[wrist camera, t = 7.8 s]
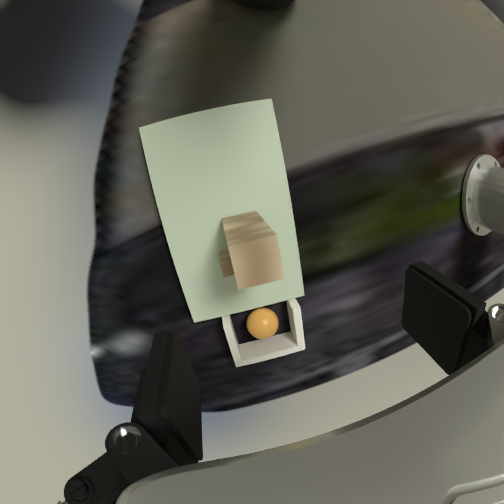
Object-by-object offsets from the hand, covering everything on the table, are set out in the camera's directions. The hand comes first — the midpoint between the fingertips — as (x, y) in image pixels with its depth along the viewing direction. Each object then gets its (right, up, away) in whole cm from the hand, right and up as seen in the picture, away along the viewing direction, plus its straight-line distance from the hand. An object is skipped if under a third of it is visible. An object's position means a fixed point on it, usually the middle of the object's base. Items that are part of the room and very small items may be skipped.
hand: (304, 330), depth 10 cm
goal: (-1, -5, +21) cm, 22 cm away
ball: (-1, -5, +19) cm, 20 cm away
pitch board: (-4, +7, +17) cm, 18 cm away
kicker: (-3, +5, +16) cm, 17 cm away
